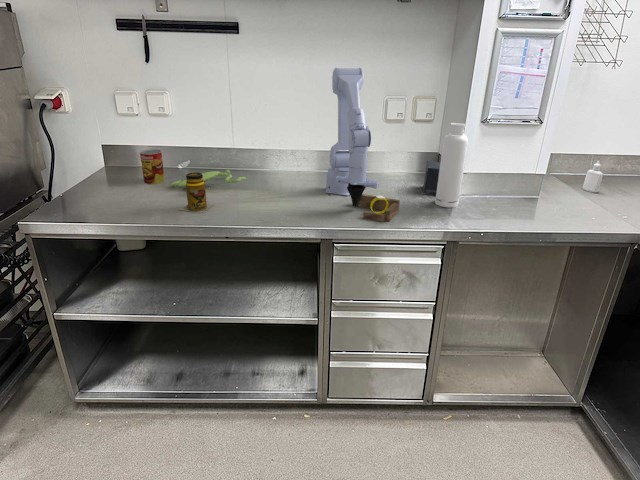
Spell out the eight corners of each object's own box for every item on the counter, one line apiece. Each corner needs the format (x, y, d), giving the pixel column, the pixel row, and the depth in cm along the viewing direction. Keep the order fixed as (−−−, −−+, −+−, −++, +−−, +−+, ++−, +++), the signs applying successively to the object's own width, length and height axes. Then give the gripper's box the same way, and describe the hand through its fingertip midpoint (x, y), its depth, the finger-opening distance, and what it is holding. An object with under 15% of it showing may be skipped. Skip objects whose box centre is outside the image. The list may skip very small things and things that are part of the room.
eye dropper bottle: (588, 192, 172) (596, 162, 167) (580, 188, 177) (589, 159, 172) (599, 193, 172) (608, 163, 167) (591, 188, 177) (600, 159, 172)
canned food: (140, 181, 174) (135, 151, 169) (157, 177, 180) (152, 148, 175) (152, 185, 170) (148, 155, 165) (169, 181, 176) (165, 151, 171)
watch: (385, 212, 150) (387, 195, 147) (387, 215, 147) (390, 198, 145) (368, 211, 148) (370, 195, 146) (370, 214, 146) (373, 197, 143)
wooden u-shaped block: (342, 214, 146) (342, 202, 145) (354, 203, 156) (355, 192, 154) (388, 222, 140) (389, 210, 138) (398, 211, 150) (399, 200, 148)
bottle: (437, 198, 163) (448, 121, 151) (460, 202, 159) (472, 123, 148) (432, 205, 156) (443, 124, 144) (455, 208, 153) (468, 127, 141)
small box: (440, 196, 165) (444, 168, 161) (423, 194, 167) (426, 167, 162) (439, 187, 175) (443, 161, 170) (423, 186, 176) (426, 160, 172)
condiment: (201, 213, 144) (197, 178, 140) (178, 210, 147) (174, 175, 142) (212, 206, 151) (209, 172, 146) (190, 203, 153) (187, 169, 148)
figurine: (249, 190, 168) (248, 176, 165) (177, 200, 157) (175, 185, 154) (235, 177, 183) (234, 164, 180) (168, 185, 172) (167, 171, 169)
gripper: (332, 166, 143) (331, 205, 149) (374, 172, 137) (372, 213, 143) (340, 161, 149) (339, 199, 154) (381, 167, 143) (378, 206, 149)
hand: (355, 205), depth 149 cm, fingers closed
